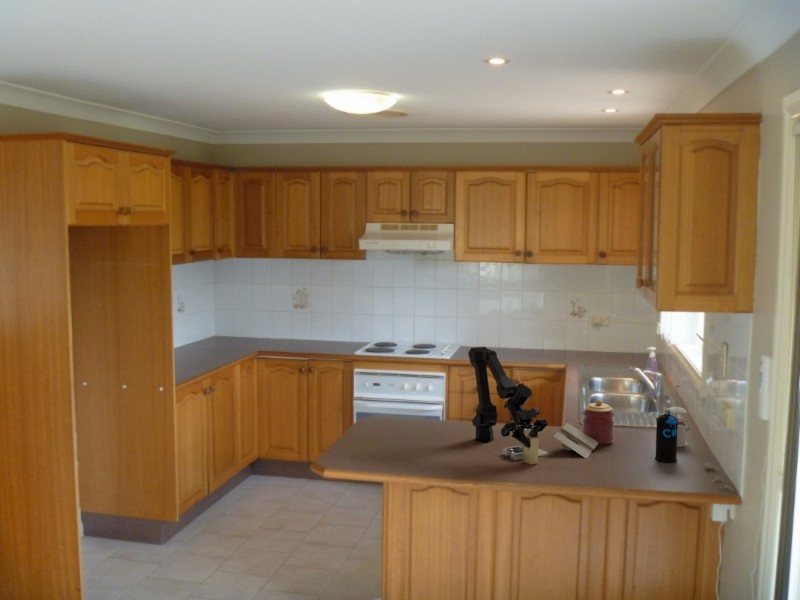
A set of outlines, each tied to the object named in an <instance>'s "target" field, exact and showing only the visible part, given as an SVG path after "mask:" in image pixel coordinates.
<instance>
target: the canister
mask: <svg viewBox="0 0 800 600" xmlns="http://www.w3.org/2000/svg"><path fill="white" fill-rule="evenodd" d="M584 409H585V410H584V411H582V414H583V419H582V432H583V433H584V434H586V435H587V436H589V437H590V438H592V439H593V440H595V441H597V442H598V445H599V446H602V445H603V446H605V445H611V444H613V443H614V440H615V438H614V437H615V436H614V435H615V434H614V433H615V432H614V431H615V429H614V428H615V426H614V425H615V421H614V417H615V413H614V412H613V410H614V409H613V407H611V405H609V404H607V403H603V401H602V400H601V399H596V400H595V402H591V403H588V404H587V405H585V406H584ZM598 445H597V446H598Z"/></svg>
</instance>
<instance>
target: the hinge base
mask: <svg viewBox="0 0 800 600" xmlns="http://www.w3.org/2000/svg"><path fill="white" fill-rule="evenodd" d="M502 455H503V456H505V457H506V458H508V459H511V460H514V461H524V445H523V446H521V445H515V446H508V447H503V448H502ZM549 455H550V454H549V452H547V451H545V450H543V449H541V448H539V447H538V458H539V457H544V456H549Z"/></svg>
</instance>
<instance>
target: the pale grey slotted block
mask: <svg viewBox="0 0 800 600" xmlns="http://www.w3.org/2000/svg"><path fill="white" fill-rule="evenodd" d="M553 437H554V438H555V439H556V440H558V441H559V442H561V448H563V449H564V450H565V451H568V452H570V451H571V450H573V451H575V452H576V453H577V454H579V455H580V456H582V457H583V458H585V459H588V458H589V456H590V455H591V454H592V452H593V451H594V450H595V449H596V447H597V446H598V442H597V441H595V440H593V439H592V438H590V437H589V436H587V435H586V434H584V433H583V431H581V430H580V429H578V428H576V427H575V426H573V425H572V424H570V423H568V422H566V423H565V424H564V425H563V426H562V427H561V429H560V430H559V431H557V432H556V433H555V434H553Z"/></svg>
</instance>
